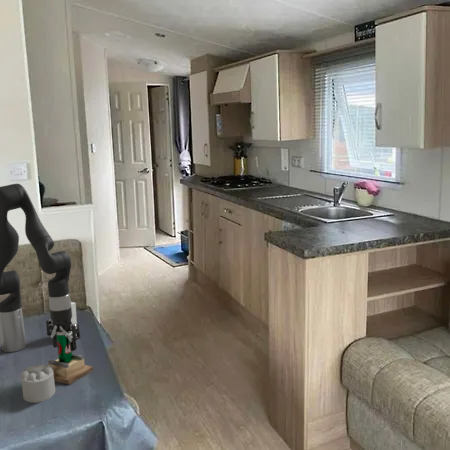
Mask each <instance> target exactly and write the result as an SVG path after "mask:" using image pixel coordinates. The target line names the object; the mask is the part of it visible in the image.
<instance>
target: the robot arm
mask: <svg viewBox="0 0 450 450" xmlns="http://www.w3.org/2000/svg"><path fill="white" fill-rule="evenodd" d="M17 209H21V210H22V211H23V214H24V216H25V225H24V230H25V231H24V232H25V236H26V238H27V240H28V242H29V244H30V245H31V246H32V248H33V249H34V251H35V254H36V256H37V260H38V264H39V267H40V269H41V270H42V272H44V273H45V274H47V275H52V274H55V275H54V276H53V277H52V278H51V279H49V280H48V282H47V289H48V306H49V307H48V308H49V314H50V317H49V318H50V319H48V320H46V321H45V326H46V335H47V336H48V337H50V338H51V342H52V347H53V348H55V349H56V348H57V339H56V333H57V331H61V332H63V333H64V335H65V336H66V337H68V339H69V341H70V351H72V352H74V351H76V350H77V340H79V339H81V332H80V325H79V323H78V322H77V323H76V324H72V322H71V318H72V308H71V302H72V300H71V295H70V287H69V282H70V281H69V280H70V274H71V269H72V268H71V267H72V259H71V257H70V255H69V253H68V252H67V251H64V250H61V251H56V252H51V253H50V251H51V250H53V248H54V246H55V241H54V240H53V238H52V237H51V235H50V234H49V232H48V230H47V229H46V228H45V226H44V224H43V223H42V220H41V219H40V217H39V215H38V213H37V210H36V208H35V206H34V204H33V202H32V200H31V198H30V196H29V194H28V192H27V190H26V188H25V187H24V186H23V185H21V184H20V183H13V184H7V185H3V186H0V296H3V295H8V296H7V297H6V298H5V299H3V300H2V301H0V349H1V350H2V351H3V352H5V353H12V352H17V351H21V350H23V349H25V348H26V347H27V341H26V334H25V325H24V316H23V315H24V314H23V309H22V297H21V295H22V294H21V281H20V280H21V279H20V276H19V274H18V272H17V271H16V270H8V271H4V270H5V269H6V268H7V266H9V264H10V263H11V262H12V260H13V259H14V258H15V257H16V255H17V253H18V250H19V243H20V237H19V233H18V231H17V230H16V229H15V227H14V226H13V225H12V224H11V223H10V222H9V220H8V213H9V211H13V210H17ZM69 331H70V332H71V333H68V332H69ZM76 334H77V336H76ZM70 335H71V336H72V337H73V338H72V337H71V336H70Z"/></svg>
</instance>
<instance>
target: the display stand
mask: <svg viewBox="0 0 450 450" xmlns="http://www.w3.org/2000/svg"><path fill="white" fill-rule="evenodd" d="M47 361H48V363H47V365H50V366H52V368H53V373H54V382H56V383H61V384H64V385H65V384H66V385H69V386H70V385H72V384H73V383H76V382H77V381H78V380H80V379H81V378H84V377H85V376H86V375H88V374H89V373H92V372H93V371H94V366H91V365H88V364H85V358H84V355H81V354H76V353H73V360H72V361H71V362H69V363H63V362H59V358H57V359H50V360H47ZM84 375H85V376H84Z"/></svg>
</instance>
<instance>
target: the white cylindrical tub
mask: <svg viewBox="0 0 450 450" xmlns="http://www.w3.org/2000/svg"><path fill="white" fill-rule="evenodd" d="M20 382H21V387H22V388H21V389H22V397H23V398H22V399H23V400H24V401H26V402H28V403H33V404H34V403H35V404H37V403H42V402H44V401H47V400H48V399H51V397H53V395H54V394H55V393H56V383H55V381H54V373H53V368H52V366H50V365H48V364H43V363H42V364H39V365H31V366H29V367H27V368H26V369H24V370H23V371H22V372H21V374H20Z"/></svg>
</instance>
